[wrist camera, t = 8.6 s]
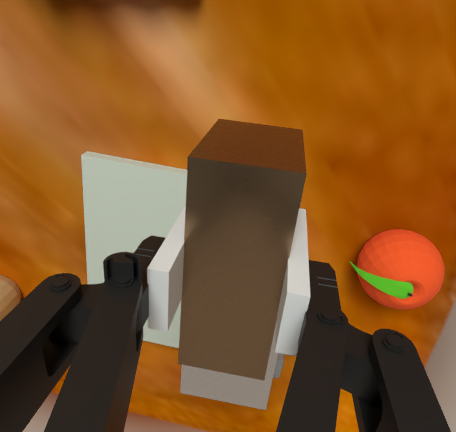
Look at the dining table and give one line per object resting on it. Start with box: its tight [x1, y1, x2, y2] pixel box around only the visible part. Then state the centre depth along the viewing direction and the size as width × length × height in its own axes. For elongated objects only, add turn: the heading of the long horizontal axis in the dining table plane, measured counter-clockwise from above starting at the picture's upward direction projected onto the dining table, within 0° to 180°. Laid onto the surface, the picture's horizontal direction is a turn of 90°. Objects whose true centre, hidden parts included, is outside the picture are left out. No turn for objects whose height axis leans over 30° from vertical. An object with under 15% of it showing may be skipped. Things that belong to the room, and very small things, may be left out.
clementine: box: [349, 229, 445, 310], centre depth 33 cm, size 8×7×7 cm
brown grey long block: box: [178, 119, 306, 410], centre depth 20 cm, size 19×6×6 cm, turn 175°
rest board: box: [81, 151, 187, 348], centre depth 40 cm, size 11×22×1 cm, turn 172°
